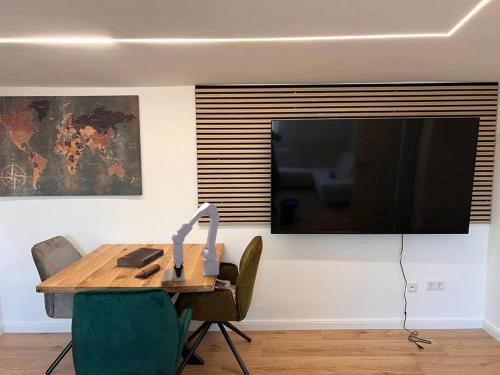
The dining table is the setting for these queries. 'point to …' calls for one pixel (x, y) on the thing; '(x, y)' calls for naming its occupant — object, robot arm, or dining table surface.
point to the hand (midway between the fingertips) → (178, 275)
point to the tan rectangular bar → (167, 277)
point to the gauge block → (176, 276)
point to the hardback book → (140, 257)
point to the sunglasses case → (148, 271)
